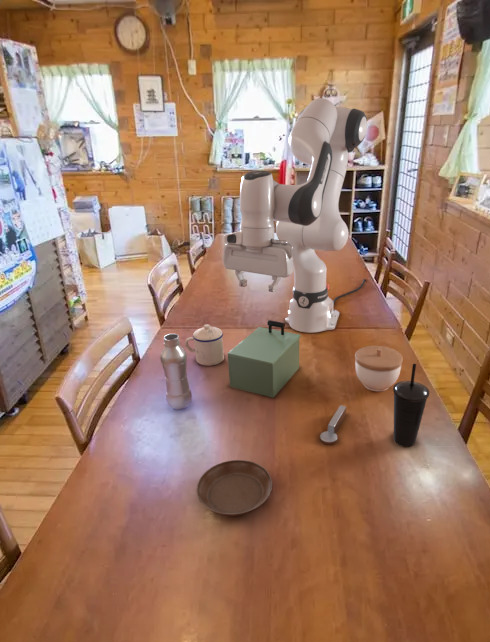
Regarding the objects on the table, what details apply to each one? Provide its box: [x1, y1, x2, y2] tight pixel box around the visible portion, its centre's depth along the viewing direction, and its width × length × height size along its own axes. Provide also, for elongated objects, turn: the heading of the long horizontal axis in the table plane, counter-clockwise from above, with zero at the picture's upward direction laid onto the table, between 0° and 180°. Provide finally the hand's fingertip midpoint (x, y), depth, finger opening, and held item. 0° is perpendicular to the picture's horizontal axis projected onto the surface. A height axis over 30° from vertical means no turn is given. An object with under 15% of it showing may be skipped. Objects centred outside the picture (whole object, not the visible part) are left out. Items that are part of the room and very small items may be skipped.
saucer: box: [196, 459, 273, 517], centre depth 90 cm, size 15×15×3 cm
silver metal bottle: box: [159, 333, 193, 410], centre depth 115 cm, size 6×7×20 cm
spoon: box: [319, 404, 347, 446], centre depth 108 cm, size 12×4×3 cm, turn 154°
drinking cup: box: [392, 363, 430, 448], centre depth 100 cm, size 8×8×20 cm
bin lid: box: [227, 319, 302, 366], centre depth 126 cm, size 19×14×5 cm
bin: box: [227, 338, 300, 399], centre depth 129 cm, size 18×14×10 cm
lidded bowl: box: [354, 345, 404, 392], centre depth 124 cm, size 13×13×11 cm
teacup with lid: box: [184, 323, 225, 367], centre depth 139 cm, size 12×9×12 cm
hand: (257, 288), depth 123 cm, fingers open, 8 cm apart
